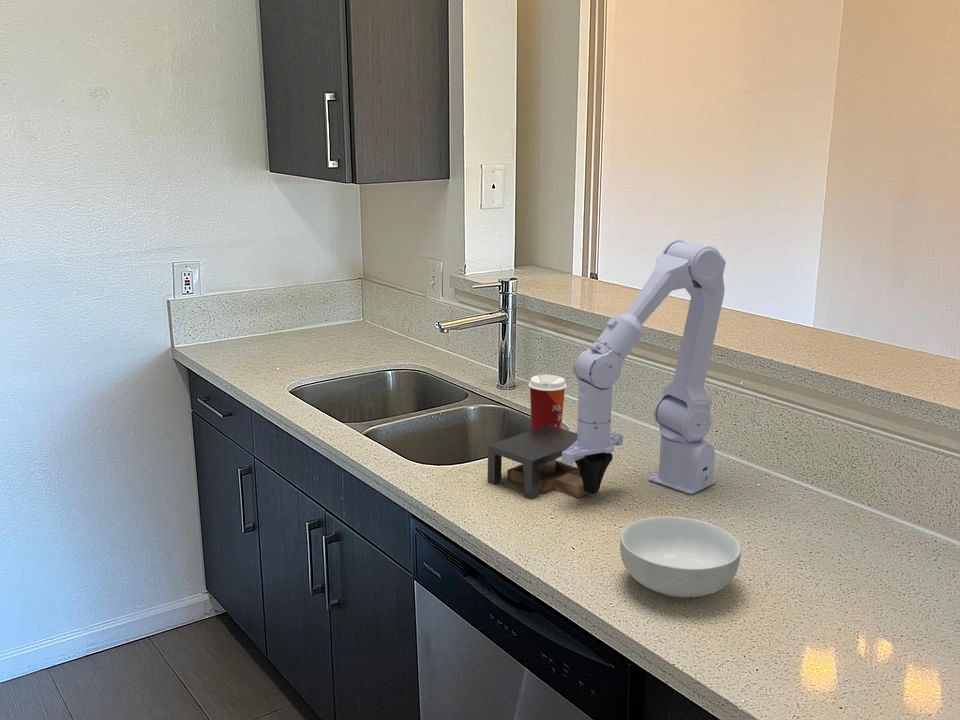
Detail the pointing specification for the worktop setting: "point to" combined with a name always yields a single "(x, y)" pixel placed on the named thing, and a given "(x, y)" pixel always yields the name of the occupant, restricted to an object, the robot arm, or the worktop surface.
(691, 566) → the cereal bowl
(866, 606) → the worktop surface
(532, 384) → the paper cup
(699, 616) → the worktop surface
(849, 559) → the worktop surface
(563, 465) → the tray
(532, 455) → the riser
